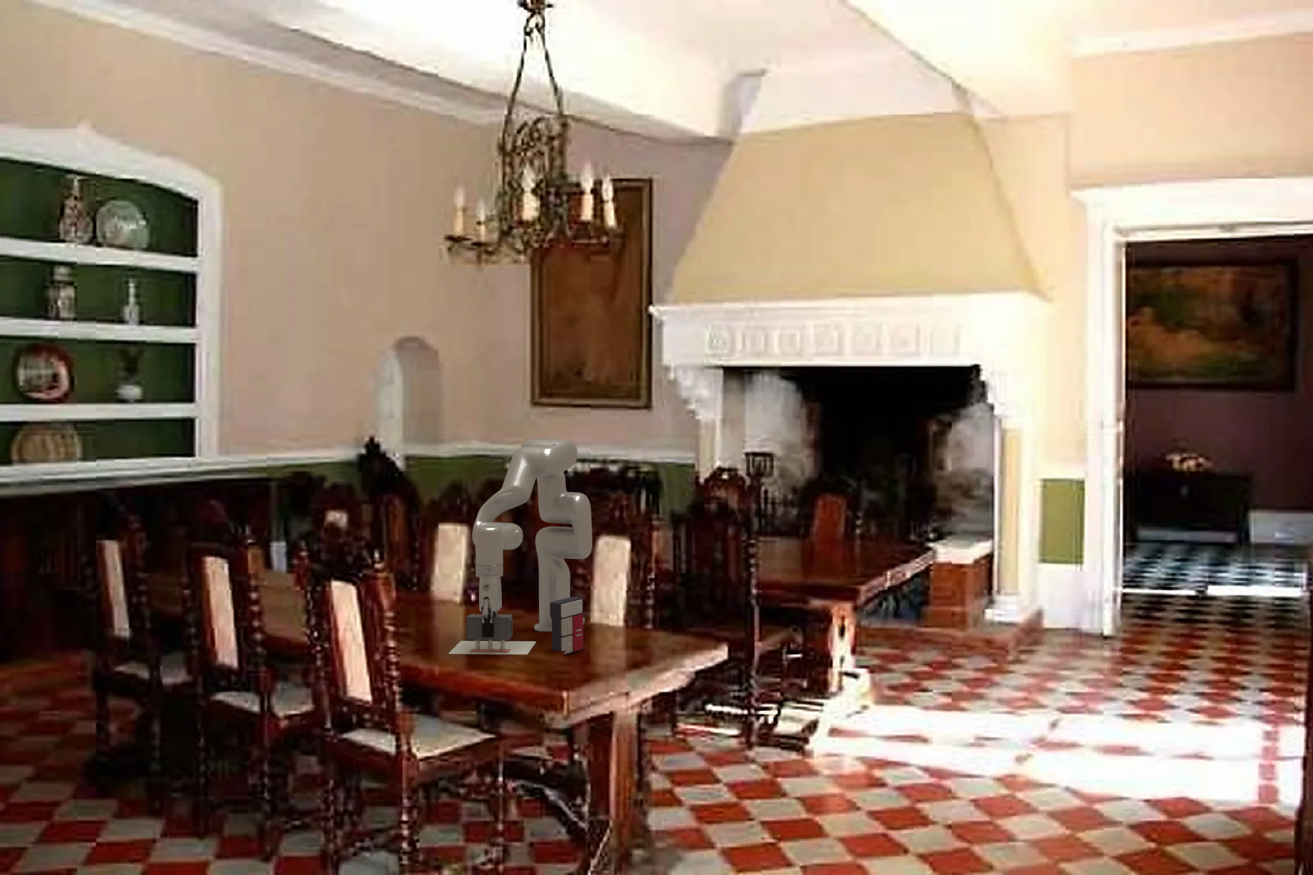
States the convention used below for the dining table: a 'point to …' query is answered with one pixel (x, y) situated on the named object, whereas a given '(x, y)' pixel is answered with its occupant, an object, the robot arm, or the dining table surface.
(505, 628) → the housing
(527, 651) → the header board
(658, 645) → the dining table surface
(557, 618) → the miniature cabinet
